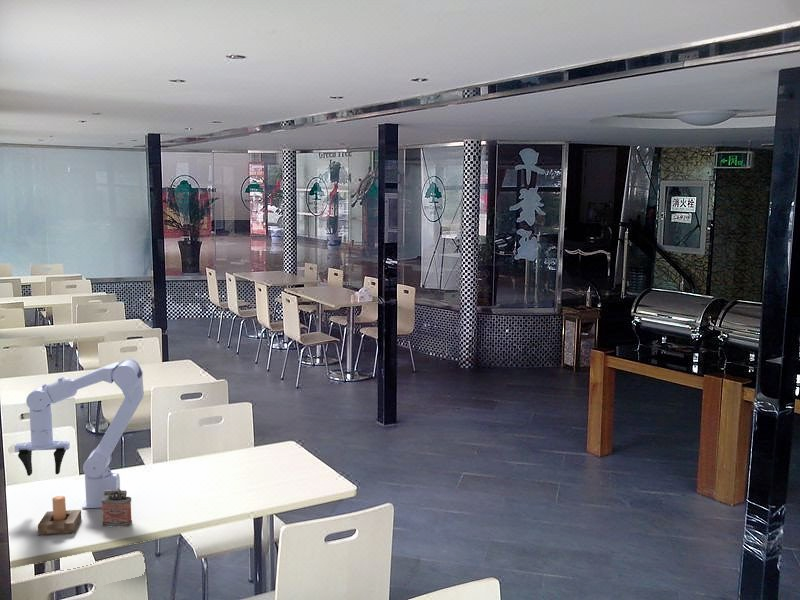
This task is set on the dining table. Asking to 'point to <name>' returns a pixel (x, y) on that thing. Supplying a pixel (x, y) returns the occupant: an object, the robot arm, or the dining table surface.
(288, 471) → the dining table surface
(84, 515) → the dining table surface
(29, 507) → the dining table surface
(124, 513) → the lighter
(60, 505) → the pin
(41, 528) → the hole block
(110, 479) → the robot arm
